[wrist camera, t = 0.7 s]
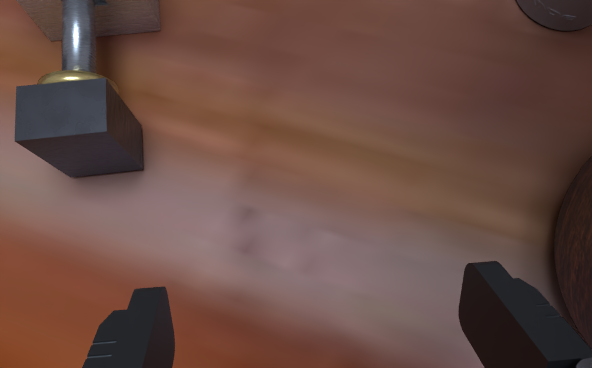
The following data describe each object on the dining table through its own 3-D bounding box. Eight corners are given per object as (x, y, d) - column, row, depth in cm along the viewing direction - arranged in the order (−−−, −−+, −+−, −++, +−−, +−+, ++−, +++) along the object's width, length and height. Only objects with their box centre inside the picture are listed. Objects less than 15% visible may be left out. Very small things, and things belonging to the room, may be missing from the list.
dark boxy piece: (70, -11, 44) (22, -85, 36) (135, -17, 45) (101, -91, 36) (70, 177, 39) (14, 141, 31) (143, 169, 40) (106, 131, 32)
